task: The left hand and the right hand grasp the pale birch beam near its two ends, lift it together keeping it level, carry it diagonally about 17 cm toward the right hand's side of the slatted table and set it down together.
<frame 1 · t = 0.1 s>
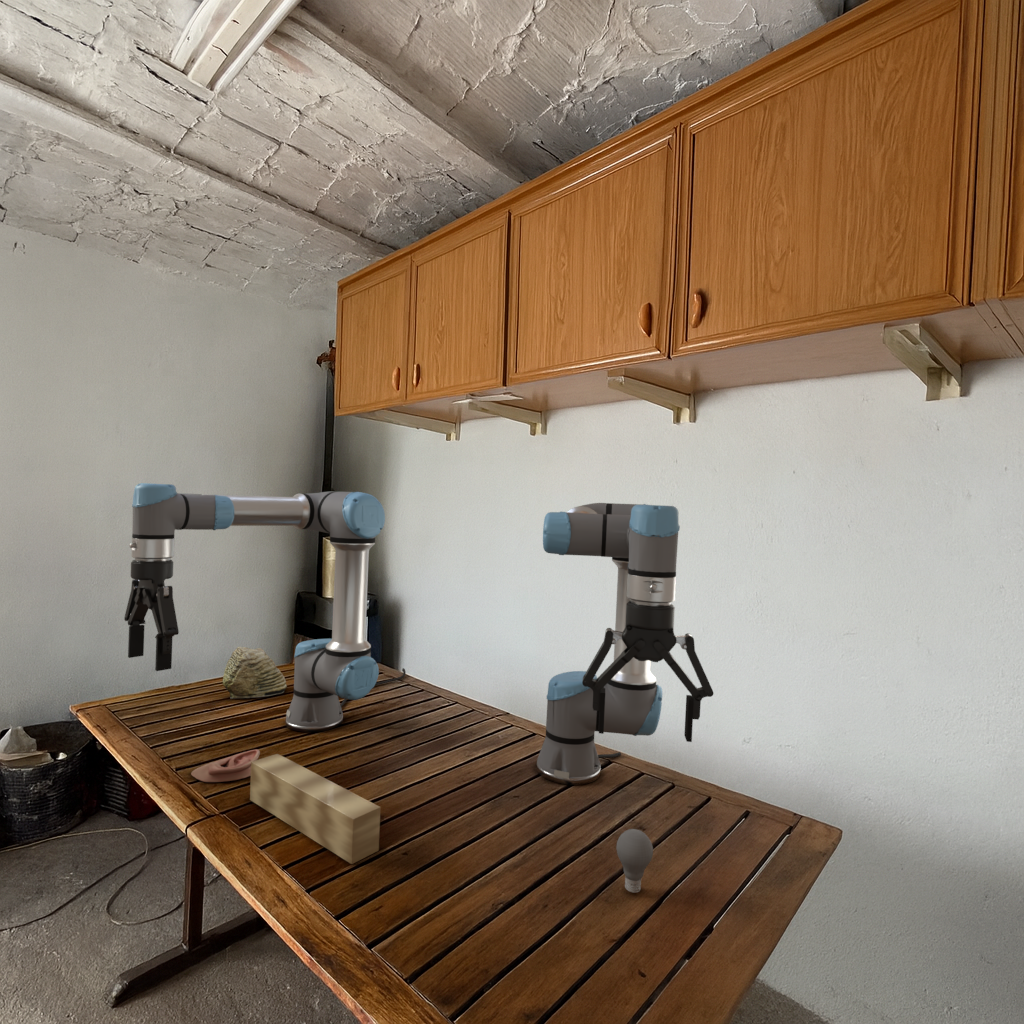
left hand: (149, 663, 129), 28 cm above the table, fingers open, 13 cm apart
right hand: (644, 734, 101), 28 cm above the table, fingers open, 13 cm apart
light bulb: (632, 891, 106), on the table
anatomical model: (225, 772, 143), on the table
fossil: (254, 694, 198), on the table
birch beam: (309, 823, 123), on the table
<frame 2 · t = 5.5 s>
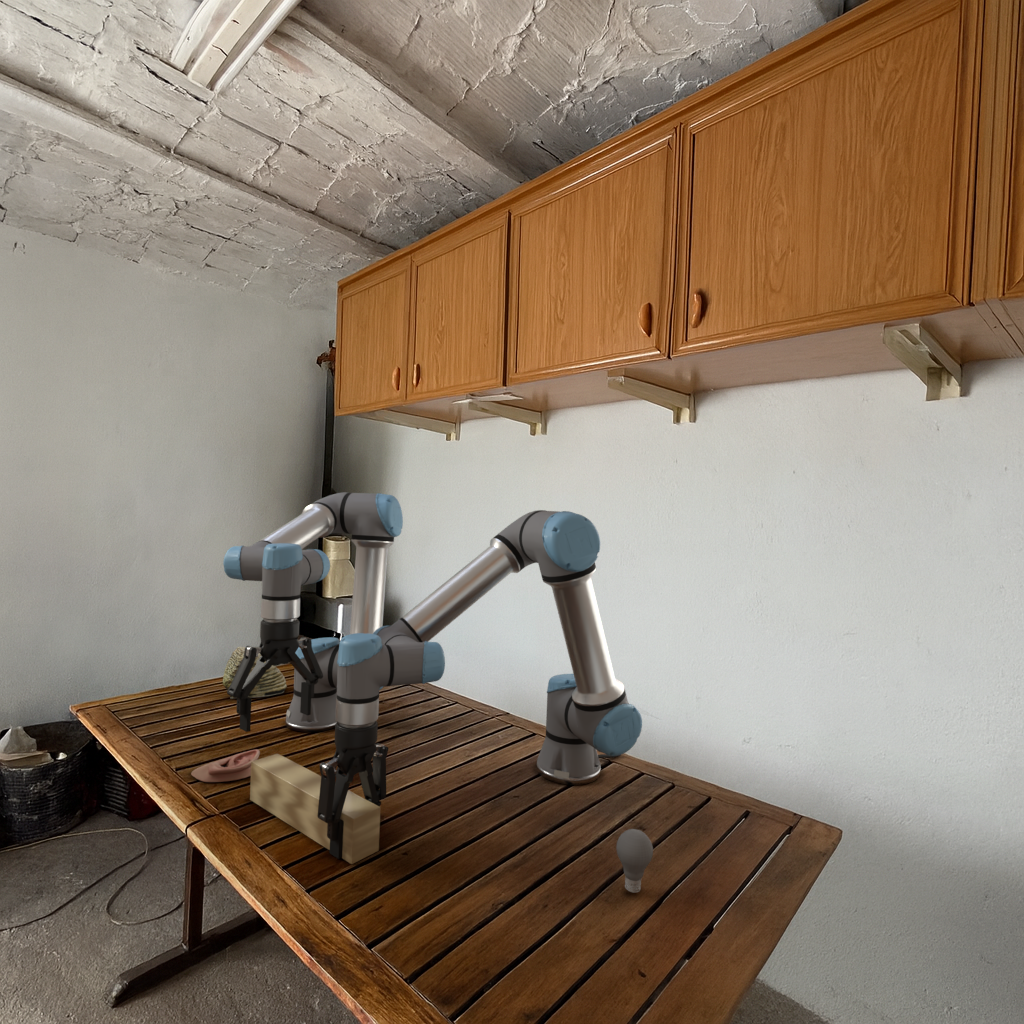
left hand: (276, 721, 131), 17 cm above the table, fingers open, 13 cm apart
right hand: (351, 847, 115), 0 cm above the table, fingers closed on birch beam, 6 cm apart
birch beam: (309, 823, 123), on the table, touching right hand
everything else where it was.
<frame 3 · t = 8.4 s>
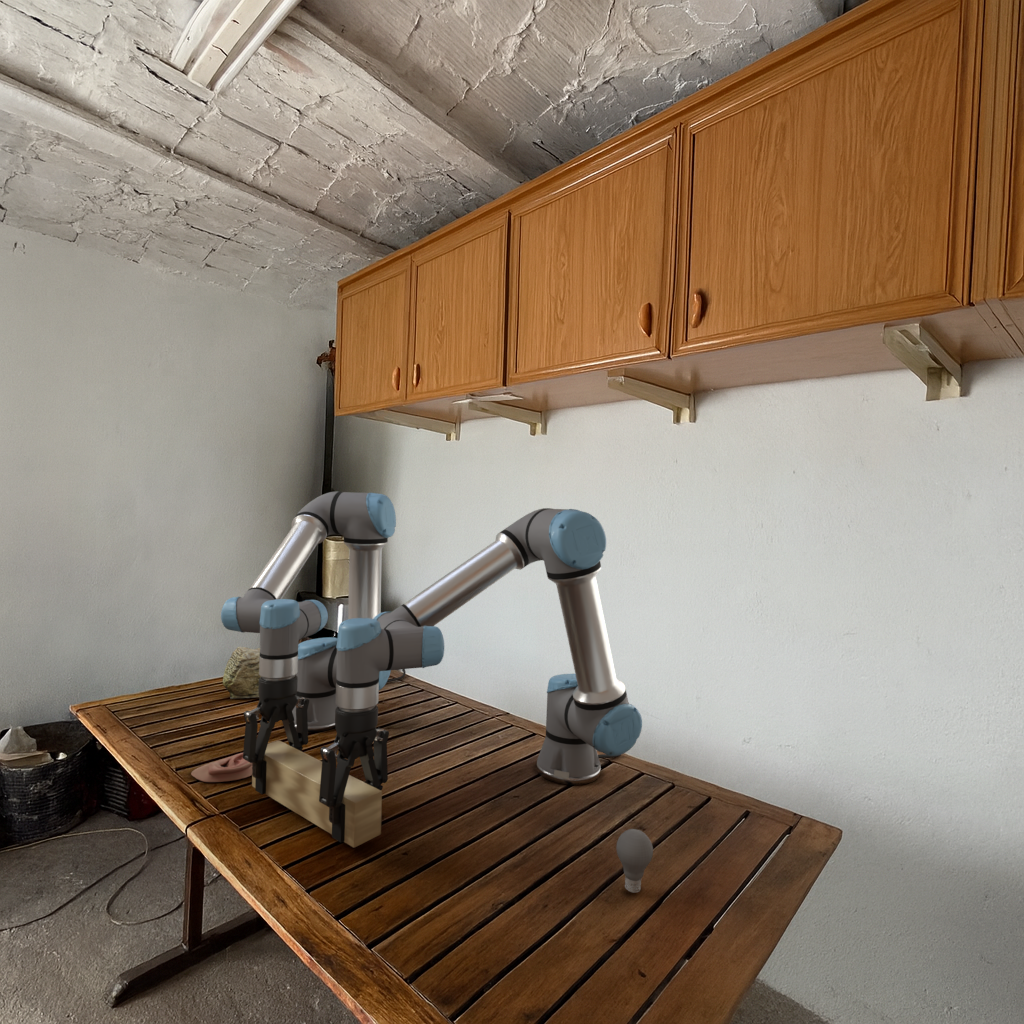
left hand: (275, 786, 131), 3 cm above the table, fingers closed on birch beam, 6 cm apart
right hand: (353, 831, 115), 3 cm above the table, fingers closed on birch beam, 6 cm apart
birch beam: (312, 808, 123), point 3 cm above the table, touching left hand, right hand
everything else where it was.
when the left hand's fingers open (1 cm above the table, at t = 13.6 s): birch beam drops 1 cm, on the table.
when the right hand's fingers open (1 cm above the table, at t = 13.6 s): birch beam drops 1 cm, on the table.
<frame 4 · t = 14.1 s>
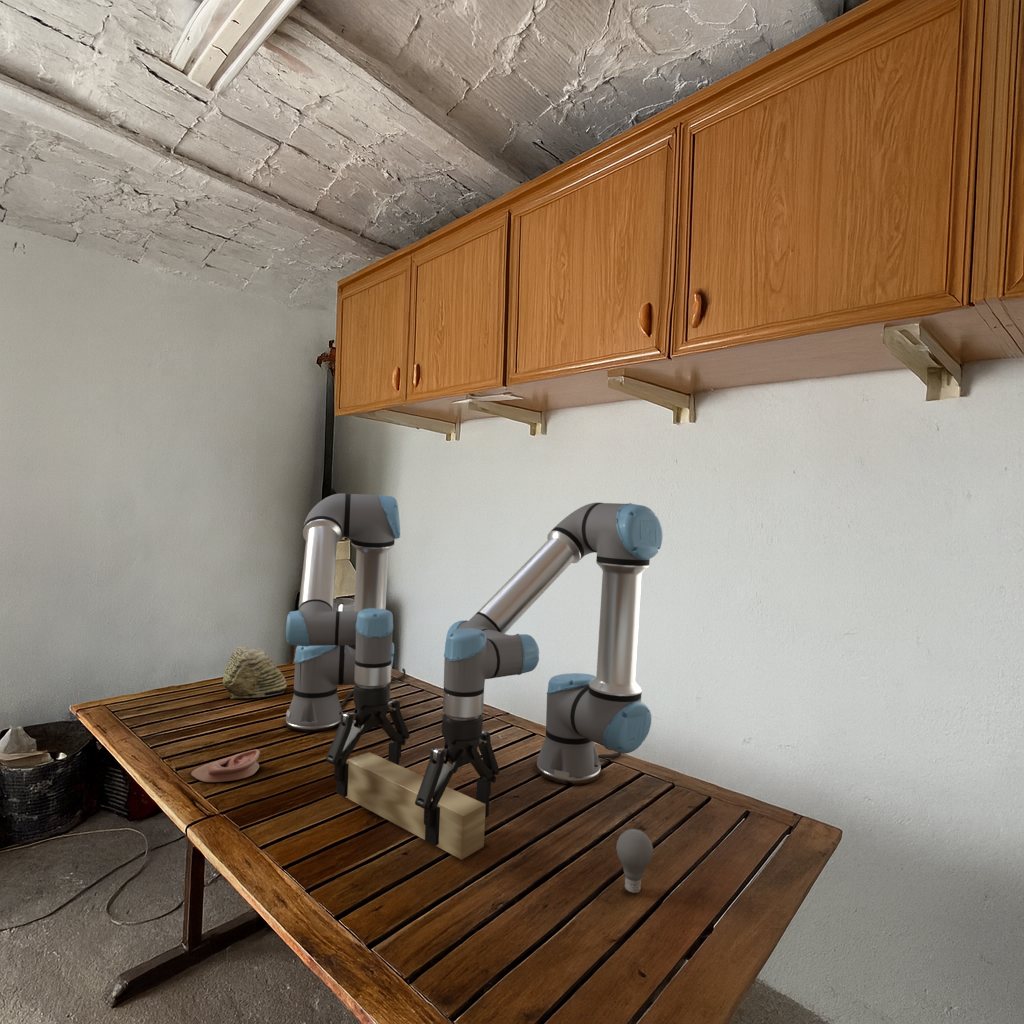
left hand: (368, 783, 134), 3 cm above the table, fingers open, 13 cm apart
right hand: (458, 827, 117), 3 cm above the table, fingers open, 13 cm apart
birch beam: (409, 820, 126), on the table
everything else where it was.
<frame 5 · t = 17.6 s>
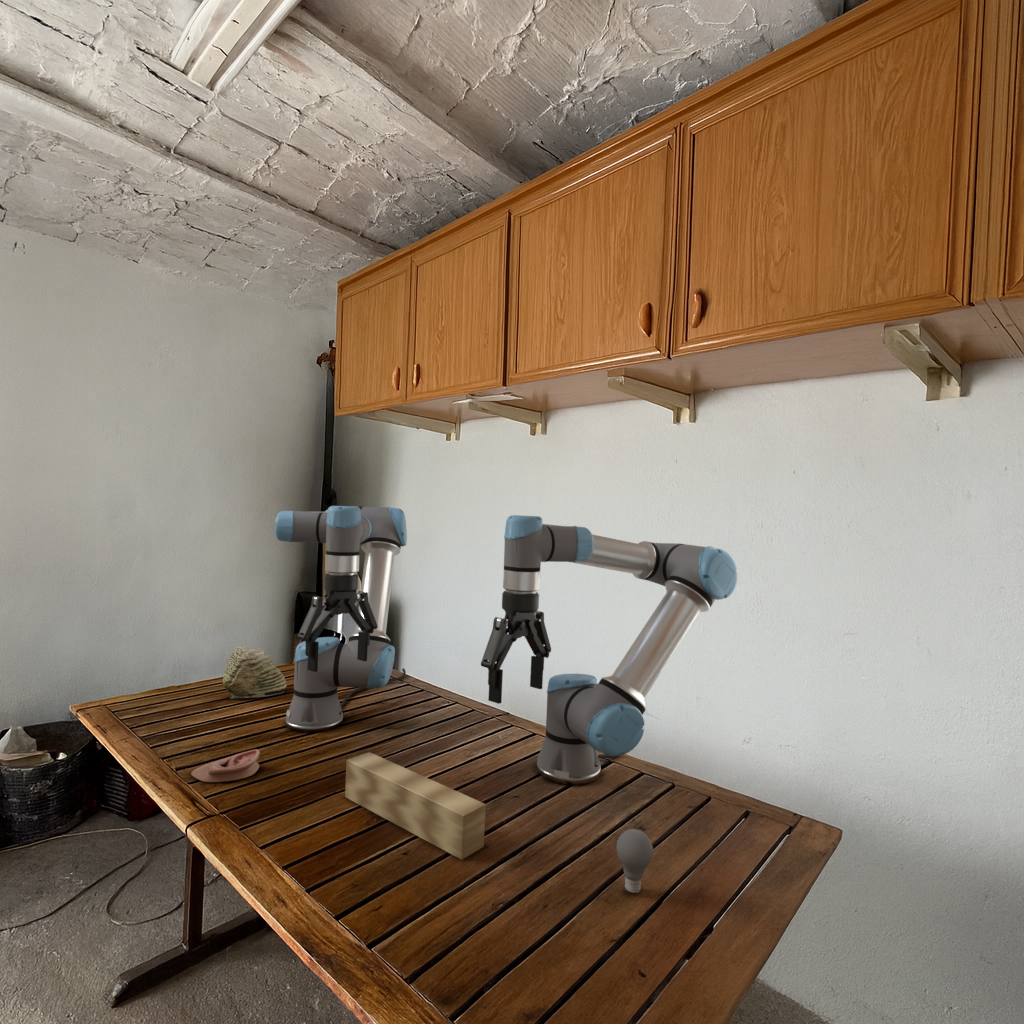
left hand: (338, 665, 146), 25 cm above the table, fingers open, 13 cm apart
right hand: (516, 694, 130), 25 cm above the table, fingers open, 13 cm apart
nothing on the table moved.
at the end: birch beam inside the target area (0.1 cm from its centre), on the table; both hands held the birch beam at the same time; birch beam never tilted more than 1° during the clip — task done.
